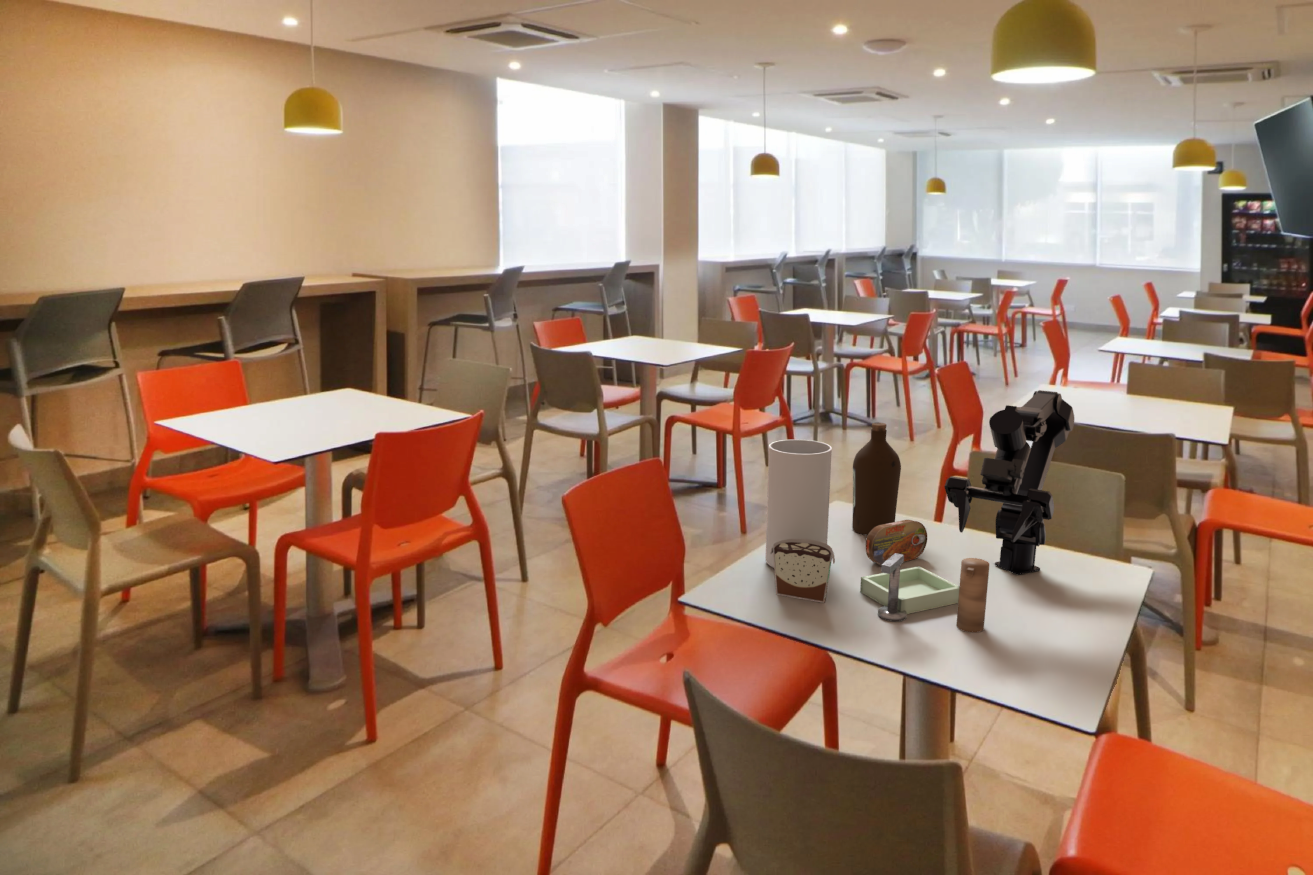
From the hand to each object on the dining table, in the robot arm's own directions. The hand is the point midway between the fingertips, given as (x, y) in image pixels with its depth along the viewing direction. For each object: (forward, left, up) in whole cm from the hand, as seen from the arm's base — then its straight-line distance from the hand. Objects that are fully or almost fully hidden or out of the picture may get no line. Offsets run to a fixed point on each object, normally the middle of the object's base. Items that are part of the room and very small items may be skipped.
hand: (986, 536), depth 171 cm
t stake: (+18, -4, -14) cm, 23 cm away
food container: (+25, -20, -14) cm, 35 cm away
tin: (-2, -27, -14) cm, 31 cm away
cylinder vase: (+18, -34, -14) cm, 41 cm away
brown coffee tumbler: (+7, +5, -14) cm, 17 cm away
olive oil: (-10, -45, -14) cm, 48 cm away
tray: (+8, -10, -14) cm, 19 cm away
